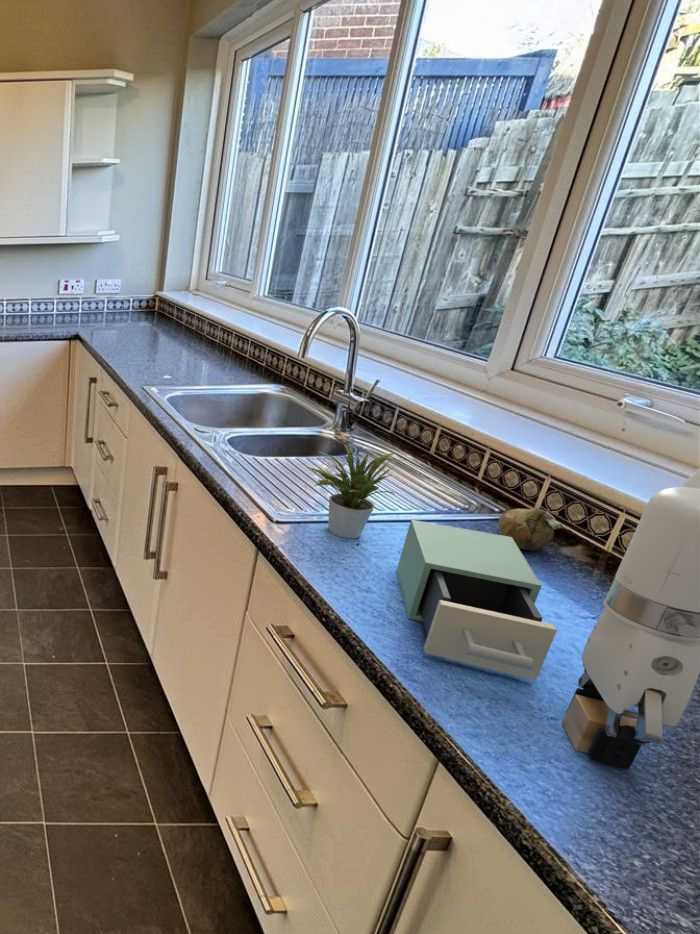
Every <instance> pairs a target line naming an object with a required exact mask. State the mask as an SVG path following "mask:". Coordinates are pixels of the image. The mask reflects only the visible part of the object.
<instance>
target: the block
mask: <svg viewBox="0 0 700 934" xmlns="http://www.w3.org/2000/svg"><path fill="white" fill-rule="evenodd" d="M574 694H575V693H574ZM574 694H573V696H574V698H573V697H572V698H573V700H572V699H571V701H572V702H571V701H570V703H571V704H570V703H569V705H570V706H569V705H568V707H569V709H568V708H567V709H568V711H567V710H566V712H567V713H566V712H565V715H564V717H563V720H562V722H561V725H562V726H563V729H564V731H565V733H566V734H567V737H568V739H569V741H570V743H571V745H572V747H573V749H574V750H575V751H577V752H581V753H584V754H587V753H588V751H589V749H590V747H591V745H592V743H593V741H594V738H595V736H596V734H597V732H598V730H599V728H603V729H605V728H606V723H607V719H608V714H609V709H610V707H609V706H608V705H607V704H606V702H604V701H600V700H596V699H592V698H588V697H584V696H580V695H576V694H575V695H574ZM626 709H629V708H627V707H626ZM636 724H637V720H636V719H634V718H630V717H626V716H622V717H621V722H620V726H623V725H629V726H636Z"/></svg>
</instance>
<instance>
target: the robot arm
mask: <svg viewBox="0 0 700 934" xmlns="http://www.w3.org/2000/svg"><path fill="white" fill-rule="evenodd" d="M602 604H603V606H604V608H603V610H602V612H601V614H600V615H599V617H598V619H597V621H596V622H595V623H594V626H593V628H592V630H591V632H590V634H589V636H588V638H587V640H586V643H585V645H584V648H583V651H582V653H581V654H582V655H581V662H582V666H583V669H584V670H583V671H584V672H583V673H582V675H581V676H579V678H578V681H577V685H578V687H577V688H576V690H575V692H574V694H573V696H572V699H571V701H570V703H569V705H568V707H567V710H566V711H565V714H566V713H567V711H568V709H569V706H570V704H571V702H572V700H573V698H574V695H575V694H576V695H580V696H584V697H588V698H592V699H596V700H600V701H604V702H606V704H607V705H608V706H609V707H610V709H609V714H608V719H607V723H606V728H605V729H603V728H599V730H598V732H597V734H596V736H595V738H594V741H593V743H592V745H591V747H590V749H589V751H588V753H586V755H587V757H588V759H589V760H591V761H592V762H597V763H600V764H603V765H607V766H611V767H614V768H617V769H621V770H629V769H630V768H631V766H632V764H633V763H634V761H635V759H636V757H637V755H638V753H639V751H640V749H641V747H642V746H643V747H644V746H646V745H647V744H651V743H662V741H663V739H664V737H663V735H664V734H663V726H665V727H667V728H674V727H676V726H677V725H678V724H679V722H680V720H681V718H682V716H683V714H684V712H685V710H686V708H687V705H688V703H689V701H690V699H691V696H692V694H693V691H694V689H695V686H696V684H697V681H698V679H699V675H700V467H698V469H697V470H696V471H694V472H693V473H692V475H690V476H689V478H687V479H686V480H685V481H684V483H683V484H682V485H681V486H674V487H673V486H672V487H666V488H663V489H660V490H659V491H656V492H655V493H654V494H652V495H651V497H650V498H649V500H648V502H647V504H646V506H645V508H644V511H643V512H642V515H641V517H640V519H639V521H638V524H637V526H636V528H635V531H634V533H633V535H632V537H631V539H630V541H629V544H628V546H627V549H626V551H625V553H624V555H623V557H622V560H621V562H620V564H619V566H618V568H617V571H616V573H615V575H614V578H613V580H612V582H611V585H610V587H609V589H608V591H607V593H606V595H605V598H604V599H603V603H602ZM626 707H627V708H628V709H626ZM632 707H636V708H637V710H633V709H631V708H632ZM622 716H626V717H630V718H634V719H635V720H636V722H637V724H636V726H629V725H623V726H620V722H621V717H622Z"/></svg>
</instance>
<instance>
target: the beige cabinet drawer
mask: <svg viewBox="0 0 700 934" xmlns="http://www.w3.org/2000/svg"><path fill="white" fill-rule="evenodd" d="M419 608H420V612H421V615H422V619H423V622H422V623H423V626H424V630H425V632H426V639H425V643H424V644H423V651H424V653H425V654H426V655H430V656H435V657H440V658H444V659H447V660H451V661H455V662H459V663H463V664H467V665H471V666H475V667H478V668H483V669H487V670H490V671H494V672H499V673H502V674H507V675H511V676H515V677H518V678H523V679H526V680H531V681H534V682H536V681H537V679H538V677H539V675H540V673H541V670H542V667H543V665H544V663H545V660H546V657H547V655H548V653H549V651H550V648H551V645H552V643H553V641H554V638H555V636H556V634H557V632H558V629H557V628H556V626H555V624H552V623H549V622H548V623H547V622H543V617H542V615H541V613H540V611H539V610H538V608H537V606H536V603H535V604H534V603H533V601H532V599H531V597H530V596H529V594H528V592H527V590H526V589H525V587H520V586H515V585H510V584H505V583H500V582H495V581H490V580H485V579H480V578H475V577H470V576H465V575H460V574H455V573H450V572H445V571H440V570H435V569H431V570H430V573H429V576H428V579H427V582H426V586H425V589H424V592H423V595H422V598H421V601H420V605H419Z"/></svg>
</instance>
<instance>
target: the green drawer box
mask: <svg viewBox="0 0 700 934" xmlns="http://www.w3.org/2000/svg"><path fill="white" fill-rule="evenodd" d="M404 540H405V541H404V543H403V547H402V550H401V553H400V557H399V560H398V563H397V568H396V573H397V578H398V582H399V586H400V587H399V588H400V590H401V595H402V599H403V604H404V607H405V611H406V615H407V618H408V619H409V620H413V621H416V622H422V623H424V622H423V619H422V615H421V612H420V608H419V605H420V601H421V598H422V595H423V592H424V589H425V586H426V582H427V579H428V576H429V573H430V570H431V569H435V570H440V571H445V572H450V573H455V574H460V575H465V576H470V577H475V578H480V579H485V580H490V581H495V582H500V583H505V584H510V585H515V586H520V587H525V589H526V590H527V592H528V594H529V596H530V597H531V599H532V601H533V603H534V604H535V605H536V601H537V598H538V596H539V594H540V591H541V589H542V586H543V585H542V584H541V582H540V580H539V578H538V577H537V576H536V574H535V572H534V571H533V569H532V567H531V566H530V564H529V562H528V561H527V559H526V558H525V556H524V555H523V552H522V551H521V549H519V548H518V546H517V545H516V543H515V542H514V540H513V538H512V537H508V536H503V535H502V534H496V533H490V532H484V531H479V530H473V529H468V528H462V527H457V526H452V525H451V526H450V525H445V524H438V523H433V522H427V521H422V520H416V519H410V523H409V525H408V528H407V532H406V536H405V539H404Z"/></svg>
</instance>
